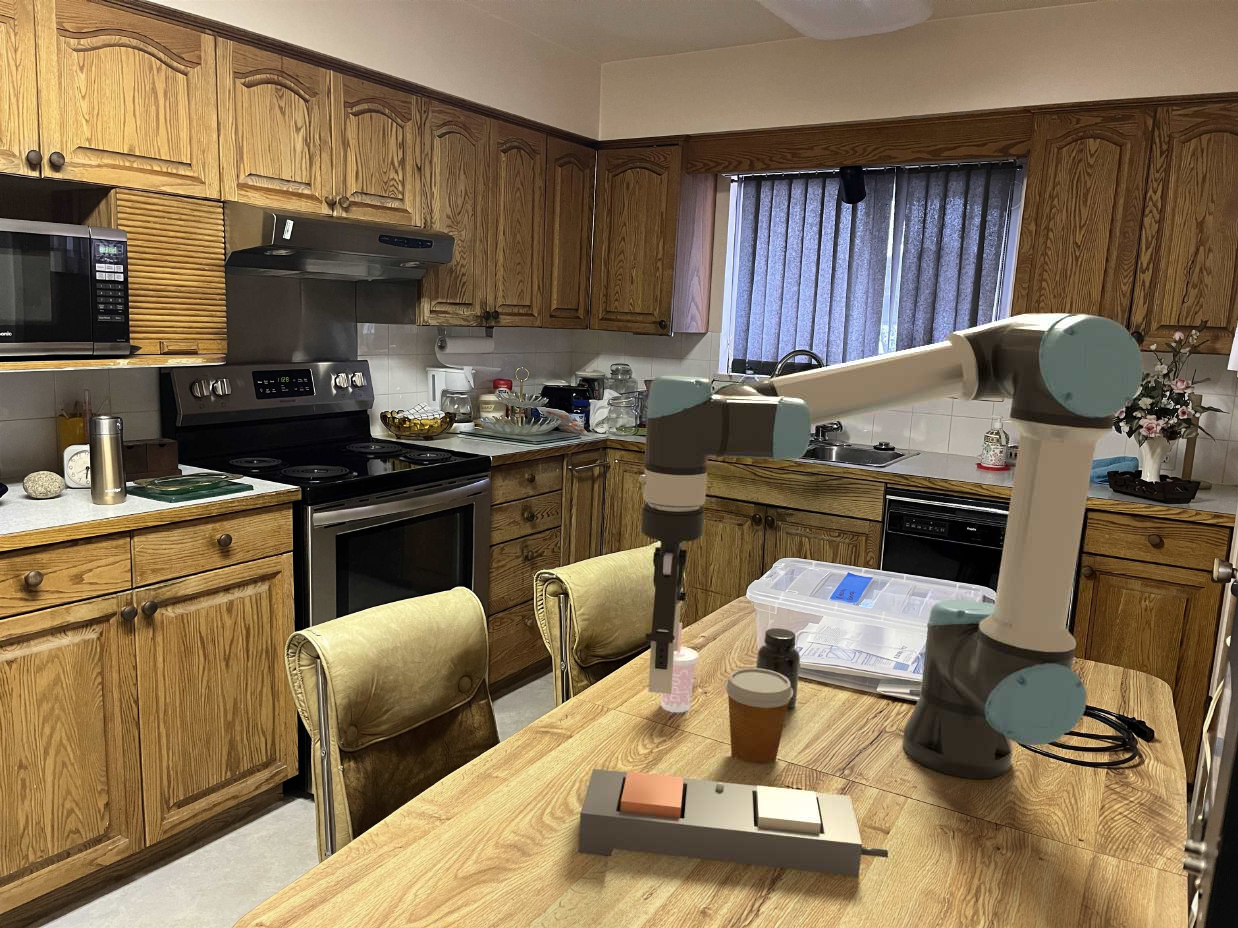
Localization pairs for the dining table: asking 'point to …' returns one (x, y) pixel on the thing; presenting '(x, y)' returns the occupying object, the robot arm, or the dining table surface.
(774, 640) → the supplement bottle
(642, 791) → the button orange
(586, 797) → the push button control box
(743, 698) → the disposable coffee cup
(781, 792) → the button ivory
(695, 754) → the dining table surface
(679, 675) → the beverage cup
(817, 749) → the dining table surface
